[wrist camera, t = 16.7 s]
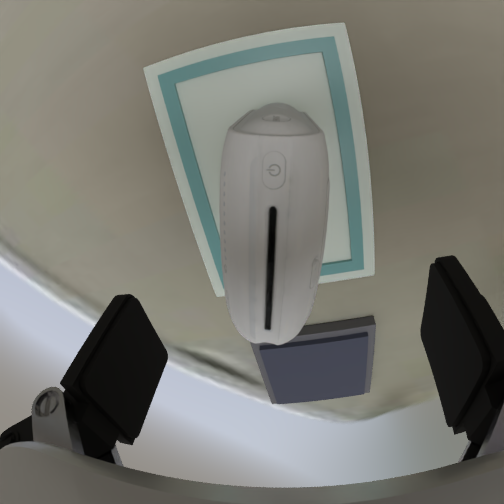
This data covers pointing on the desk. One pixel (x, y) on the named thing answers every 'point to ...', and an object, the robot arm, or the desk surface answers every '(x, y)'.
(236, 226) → the photo printer
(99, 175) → the desk surface
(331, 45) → the teal bordered white mat
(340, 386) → the ink pad
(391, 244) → the desk surface
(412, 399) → the desk surface
